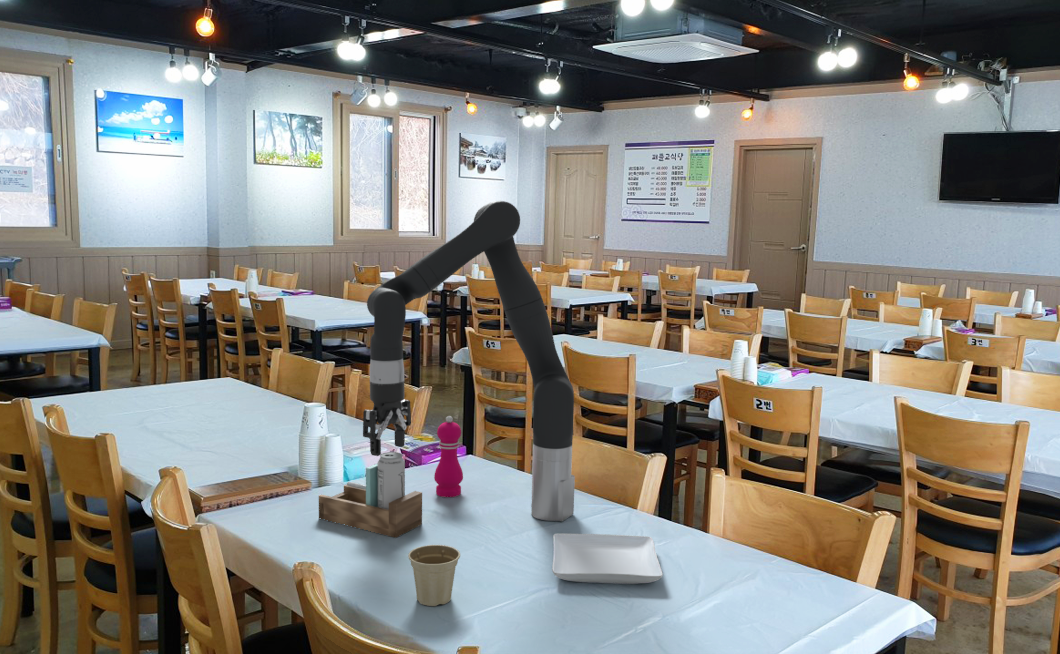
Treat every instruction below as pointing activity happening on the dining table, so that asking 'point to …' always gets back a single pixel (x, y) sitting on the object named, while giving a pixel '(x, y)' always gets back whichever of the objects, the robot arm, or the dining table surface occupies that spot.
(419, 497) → the wooden box
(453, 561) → the flower pot
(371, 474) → the pusher
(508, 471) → the dining table surface
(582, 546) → the salad plate
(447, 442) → the pepper mill
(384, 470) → the energy drink can
